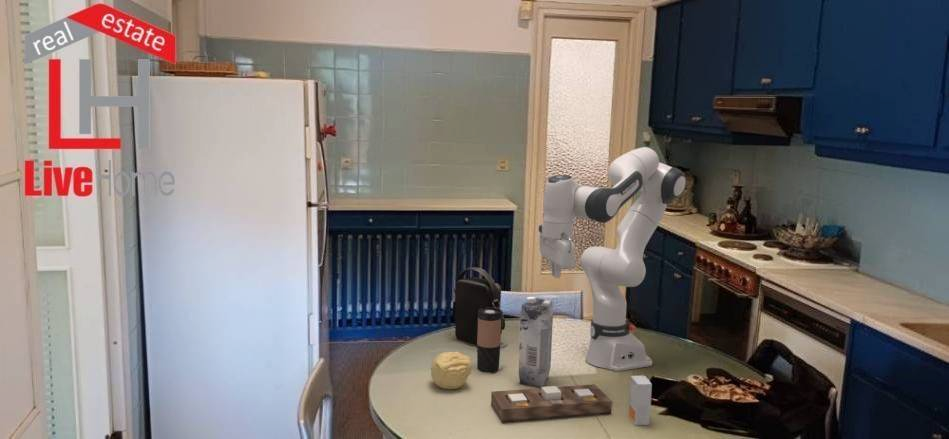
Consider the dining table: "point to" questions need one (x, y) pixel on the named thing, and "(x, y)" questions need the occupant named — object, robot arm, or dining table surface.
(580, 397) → the button
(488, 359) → the travel mug
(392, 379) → the dining table surface
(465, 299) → the shoulder bag
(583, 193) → the robot arm
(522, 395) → the button
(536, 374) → the juice carton
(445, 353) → the sculpture
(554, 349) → the dining table surface
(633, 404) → the skincare box
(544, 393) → the button middle
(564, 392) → the button board
